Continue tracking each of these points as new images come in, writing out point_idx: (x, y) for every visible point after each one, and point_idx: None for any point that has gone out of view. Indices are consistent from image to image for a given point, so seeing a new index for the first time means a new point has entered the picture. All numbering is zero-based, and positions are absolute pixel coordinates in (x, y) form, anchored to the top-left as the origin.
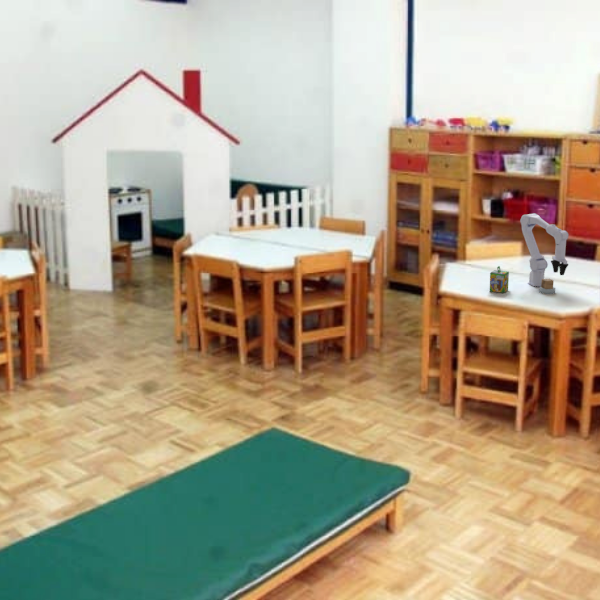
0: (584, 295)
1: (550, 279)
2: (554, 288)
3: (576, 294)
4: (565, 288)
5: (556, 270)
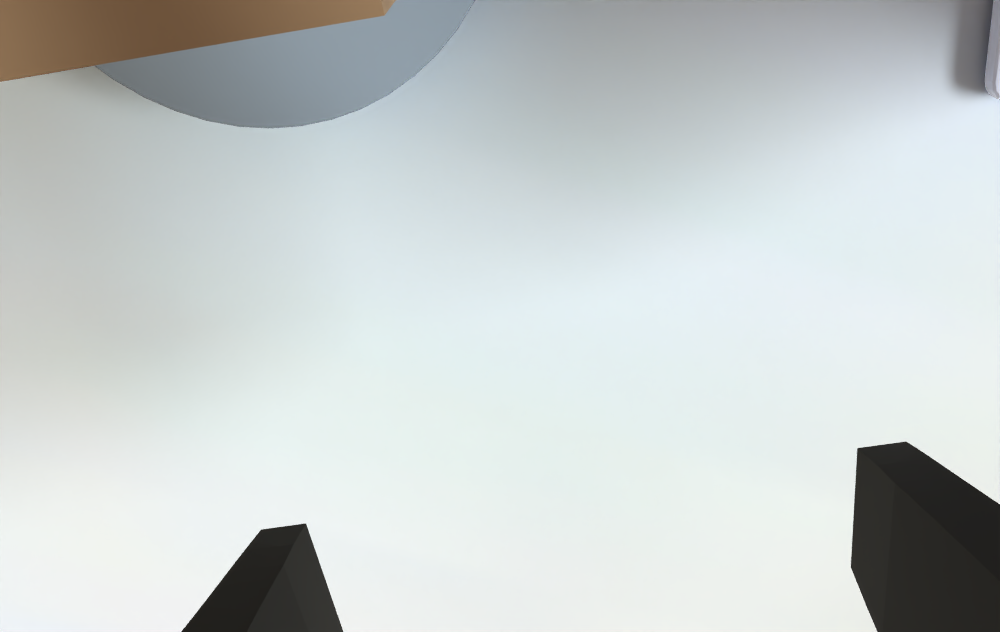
0: (33, 591)
1: (187, 1)
2: (171, 82)
3: (98, 490)
4: (651, 448)
5: (893, 594)
